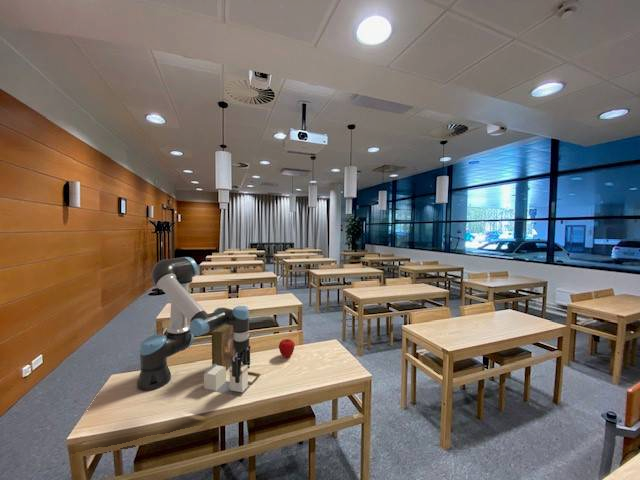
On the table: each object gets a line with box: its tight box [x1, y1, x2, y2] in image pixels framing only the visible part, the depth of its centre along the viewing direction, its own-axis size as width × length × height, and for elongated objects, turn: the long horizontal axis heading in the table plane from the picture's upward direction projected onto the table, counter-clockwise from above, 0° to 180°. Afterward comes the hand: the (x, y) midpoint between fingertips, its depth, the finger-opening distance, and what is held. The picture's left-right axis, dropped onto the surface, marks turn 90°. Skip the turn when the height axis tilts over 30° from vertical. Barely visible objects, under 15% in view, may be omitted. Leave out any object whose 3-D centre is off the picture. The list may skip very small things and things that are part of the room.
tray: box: [248, 371, 261, 385], centre depth 141 cm, size 11×9×2 cm
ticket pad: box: [203, 364, 227, 392], centre depth 135 cm, size 7×8×9 cm
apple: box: [278, 338, 296, 358], centre depth 167 cm, size 10×10×11 cm
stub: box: [228, 363, 249, 392], centre depth 131 cm, size 7×5×11 cm
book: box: [211, 325, 235, 372], centre depth 151 cm, size 16×6×25 cm, turn 168°
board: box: [201, 380, 251, 398], centre depth 133 cm, size 22×9×1 cm, turn 74°
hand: (241, 384), depth 131 cm, fingers closed on stub, 5 cm apart
